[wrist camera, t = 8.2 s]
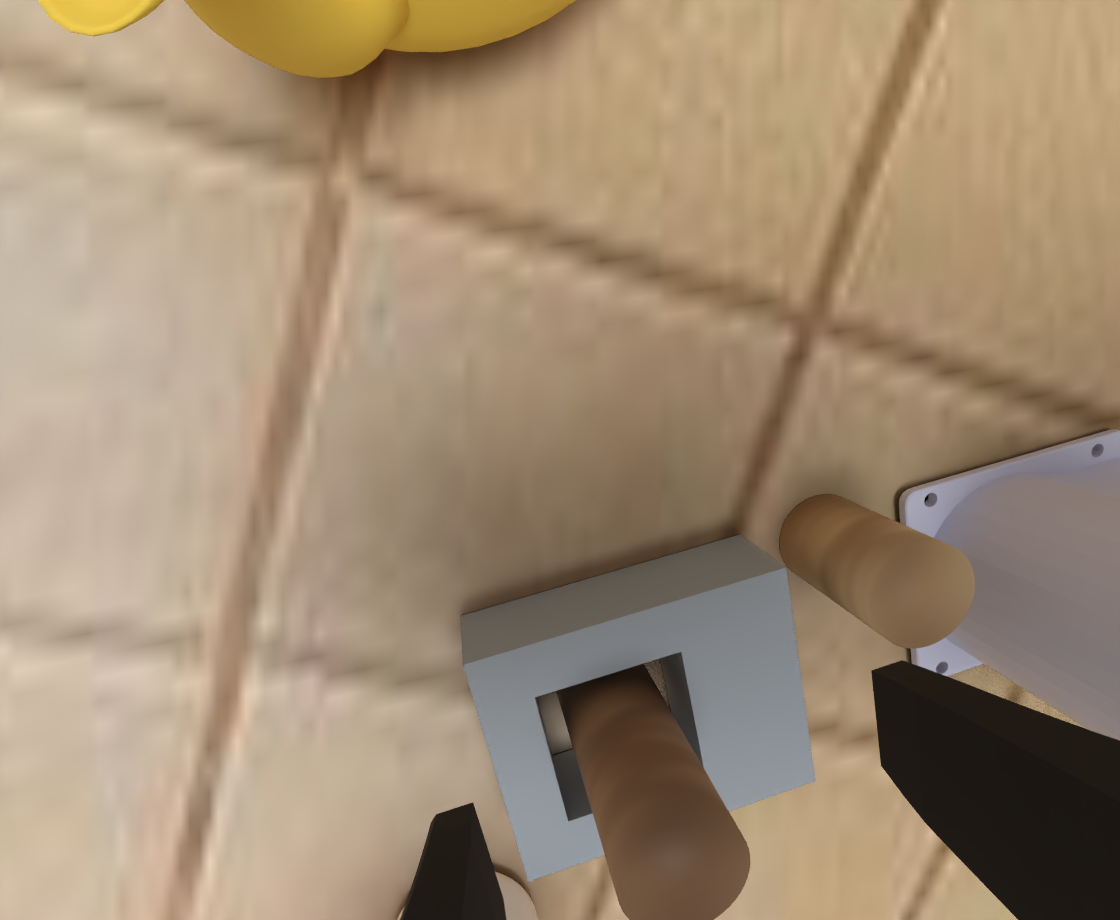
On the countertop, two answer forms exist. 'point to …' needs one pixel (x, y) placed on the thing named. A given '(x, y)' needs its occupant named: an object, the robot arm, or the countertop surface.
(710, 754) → the socket block
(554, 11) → the teapot
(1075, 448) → the robot arm
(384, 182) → the countertop surface
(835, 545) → the oak stub
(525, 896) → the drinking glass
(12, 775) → the countertop surface
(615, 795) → the walnut dowel
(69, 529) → the countertop surface
